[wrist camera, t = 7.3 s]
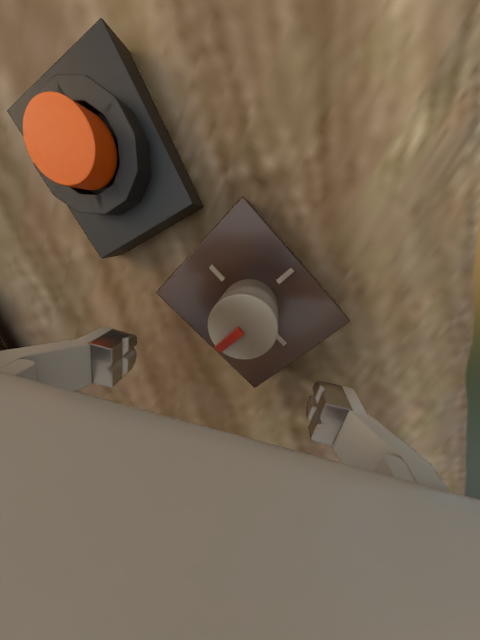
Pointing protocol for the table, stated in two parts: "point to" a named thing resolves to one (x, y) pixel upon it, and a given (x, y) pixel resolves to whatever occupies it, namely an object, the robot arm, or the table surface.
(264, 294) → the knob
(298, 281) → the dial base
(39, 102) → the button
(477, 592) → the robot arm
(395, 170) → the table surface
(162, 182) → the button box
